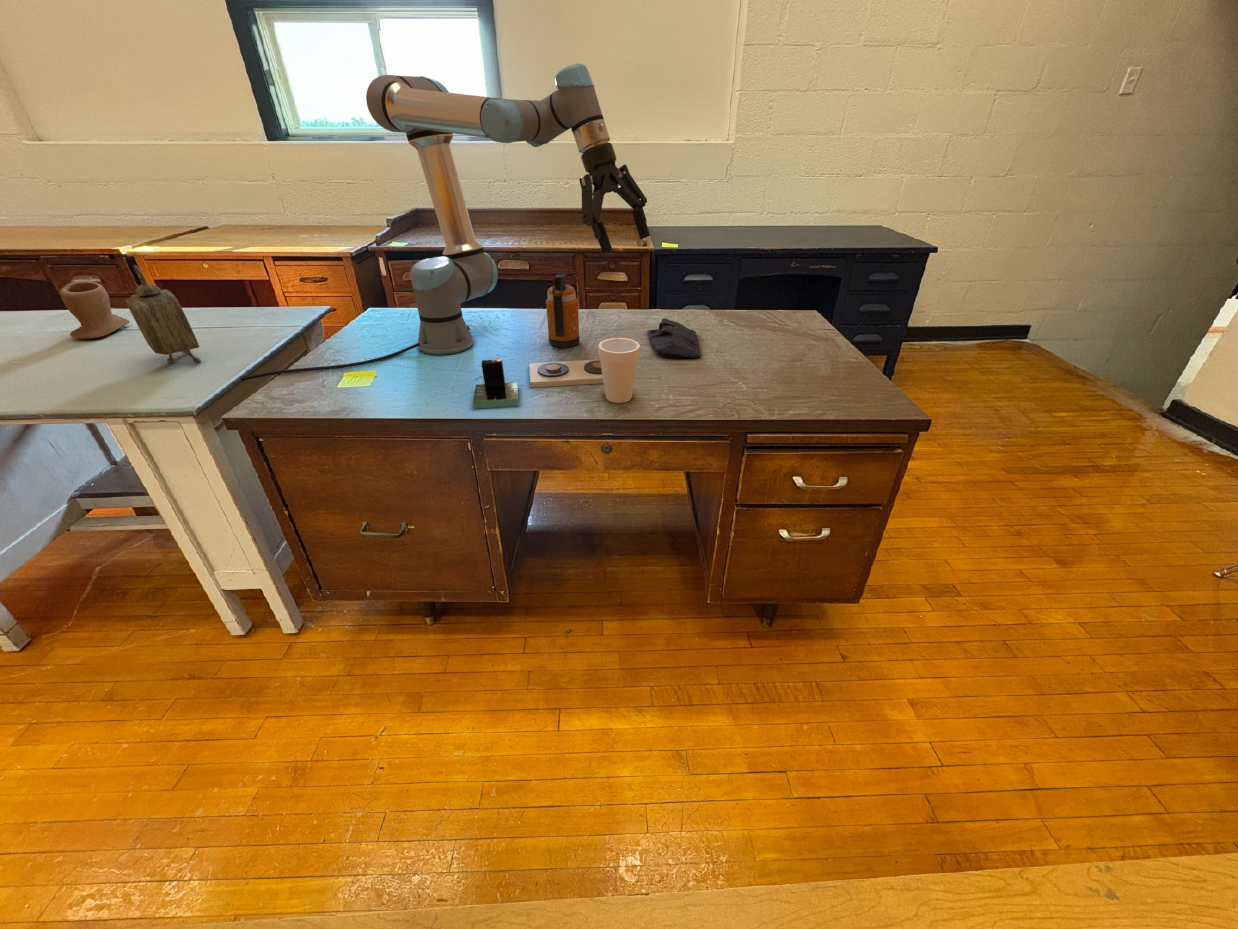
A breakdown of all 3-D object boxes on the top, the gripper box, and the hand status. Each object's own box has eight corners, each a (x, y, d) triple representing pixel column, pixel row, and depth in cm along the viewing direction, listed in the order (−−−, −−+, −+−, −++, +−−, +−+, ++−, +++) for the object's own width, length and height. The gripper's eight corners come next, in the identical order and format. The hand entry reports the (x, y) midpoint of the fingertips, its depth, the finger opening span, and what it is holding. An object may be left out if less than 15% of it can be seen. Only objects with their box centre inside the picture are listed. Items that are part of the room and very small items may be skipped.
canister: (581, 338, 158) (579, 270, 146) (575, 352, 149) (572, 280, 137) (552, 337, 158) (547, 269, 147) (544, 350, 149) (539, 279, 138)
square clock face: (474, 409, 120) (472, 400, 119) (477, 391, 127) (475, 383, 126) (518, 406, 121) (517, 397, 120) (518, 389, 128) (517, 381, 127)
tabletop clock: (208, 363, 140) (162, 267, 126) (167, 373, 135) (115, 274, 121) (193, 349, 149) (149, 257, 135) (154, 358, 143) (104, 263, 129)
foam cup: (609, 409, 120) (609, 355, 113) (592, 393, 127) (591, 341, 120) (645, 400, 124) (647, 348, 117) (627, 385, 131) (627, 335, 123)
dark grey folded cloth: (647, 359, 145) (648, 342, 142) (647, 331, 163) (647, 316, 160) (702, 360, 144) (704, 343, 142) (696, 332, 162) (697, 317, 160)
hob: (530, 387, 129) (529, 378, 128) (530, 368, 139) (529, 359, 138) (625, 381, 132) (625, 372, 131) (618, 363, 142) (618, 354, 141)
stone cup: (107, 341, 153) (77, 290, 145) (66, 341, 153) (34, 289, 145) (145, 324, 166) (120, 275, 157) (107, 324, 166) (80, 275, 157)
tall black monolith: (485, 393, 122) (481, 362, 118) (486, 390, 123) (481, 359, 119) (505, 392, 123) (501, 361, 118) (505, 388, 124) (502, 358, 120)
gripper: (564, 149, 107) (601, 254, 114) (642, 133, 121) (670, 227, 128) (544, 163, 112) (580, 262, 120) (621, 146, 126) (649, 236, 134)
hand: (627, 244), depth 124 cm, fingers open, 13 cm apart
